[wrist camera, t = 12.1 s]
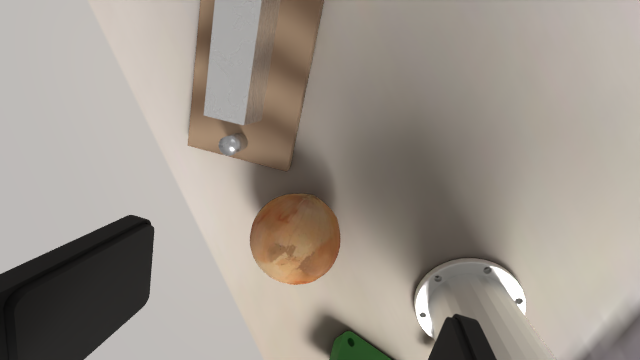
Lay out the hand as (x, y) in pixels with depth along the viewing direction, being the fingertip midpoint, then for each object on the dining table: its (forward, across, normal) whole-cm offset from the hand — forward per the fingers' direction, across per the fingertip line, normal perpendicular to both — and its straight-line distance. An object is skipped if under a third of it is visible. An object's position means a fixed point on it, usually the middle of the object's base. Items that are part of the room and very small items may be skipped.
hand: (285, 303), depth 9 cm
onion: (+26, +4, +9) cm, 28 cm away
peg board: (+25, +12, -8) cm, 29 cm away
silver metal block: (+24, +12, -8) cm, 28 cm away
